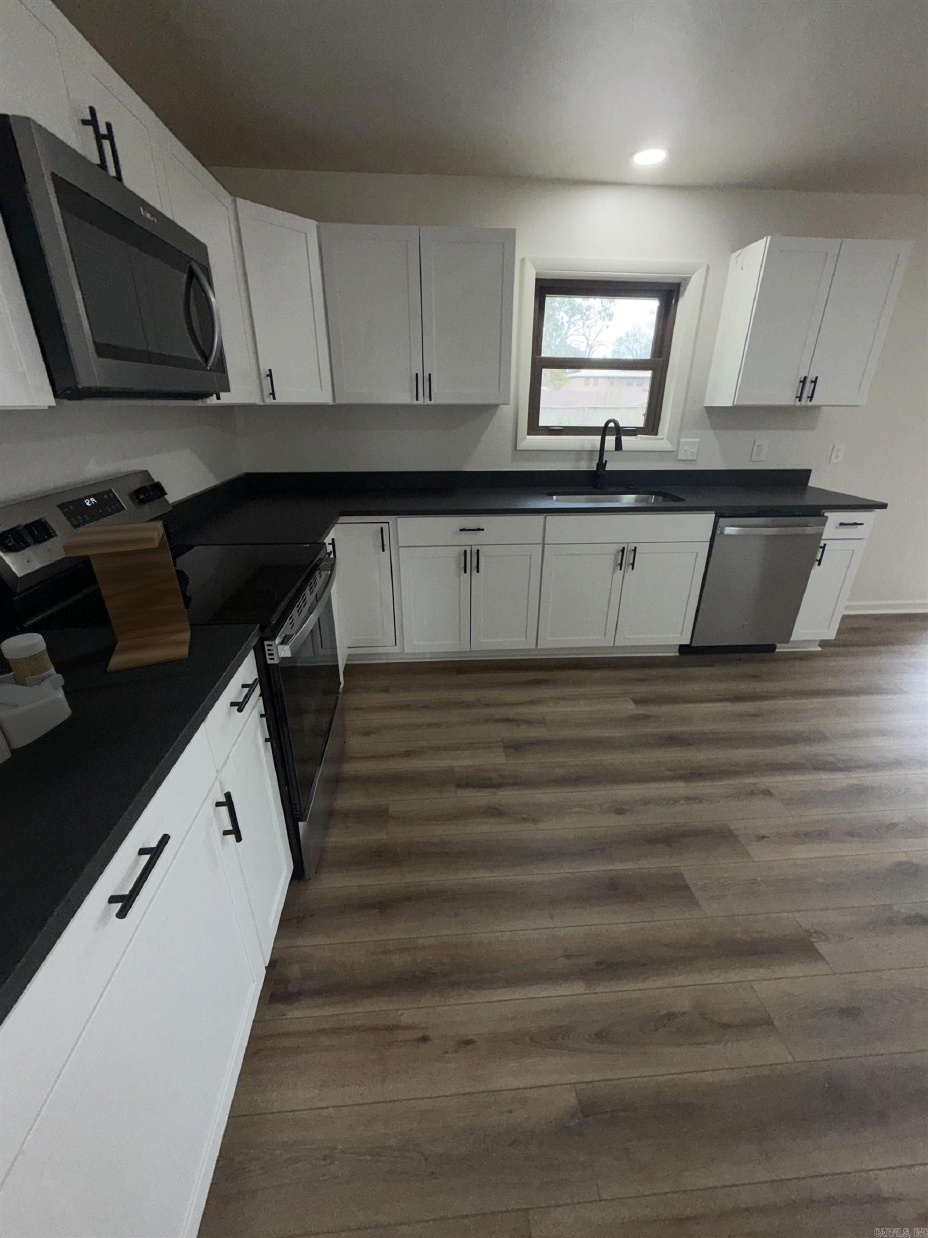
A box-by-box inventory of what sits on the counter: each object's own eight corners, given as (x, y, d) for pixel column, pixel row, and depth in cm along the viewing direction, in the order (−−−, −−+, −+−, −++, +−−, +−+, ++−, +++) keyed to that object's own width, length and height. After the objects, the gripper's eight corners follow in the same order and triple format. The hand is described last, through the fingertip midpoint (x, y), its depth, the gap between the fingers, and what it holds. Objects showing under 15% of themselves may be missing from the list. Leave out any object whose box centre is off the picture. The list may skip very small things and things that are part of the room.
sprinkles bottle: (33, 718, 74) (-2, 638, 69) (70, 706, 77) (39, 629, 72) (36, 732, 71) (0, 650, 66) (75, 719, 74) (43, 639, 69)
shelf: (189, 664, 102) (154, 536, 91) (109, 678, 97) (62, 545, 86) (192, 636, 114) (161, 520, 103) (121, 647, 109) (81, 527, 97)
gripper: (-119, 743, 63) (-6, 685, 75) (10, 767, 59) (108, 702, 72) (-145, 702, 60) (-23, 649, 73) (-11, 724, 57) (94, 664, 69)
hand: (43, 675), depth 72 cm, fingers closed on sprinkles bottle, 4 cm apart
